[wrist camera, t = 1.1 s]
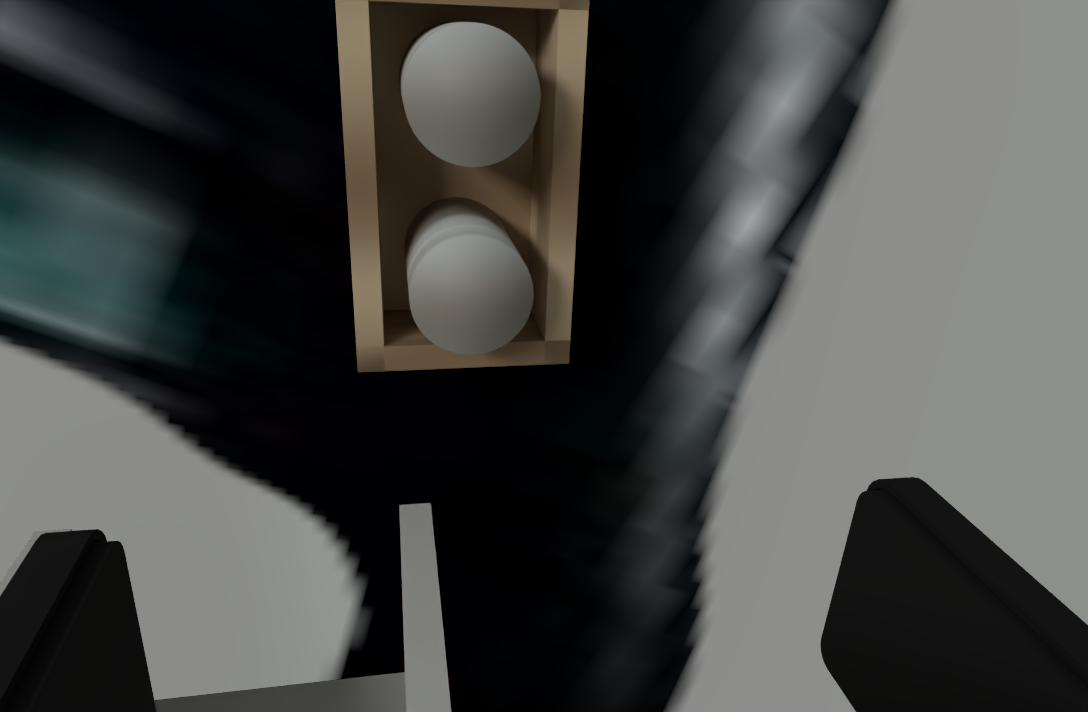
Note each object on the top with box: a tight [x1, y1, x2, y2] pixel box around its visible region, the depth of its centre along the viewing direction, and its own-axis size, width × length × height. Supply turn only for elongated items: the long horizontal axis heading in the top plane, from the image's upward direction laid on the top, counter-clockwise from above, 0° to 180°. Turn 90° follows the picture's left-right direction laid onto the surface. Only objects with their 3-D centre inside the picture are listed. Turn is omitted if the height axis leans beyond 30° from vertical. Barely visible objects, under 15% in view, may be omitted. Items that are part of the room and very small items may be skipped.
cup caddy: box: [335, 0, 589, 372], centre depth 23 cm, size 11×6×6 cm, turn 178°
